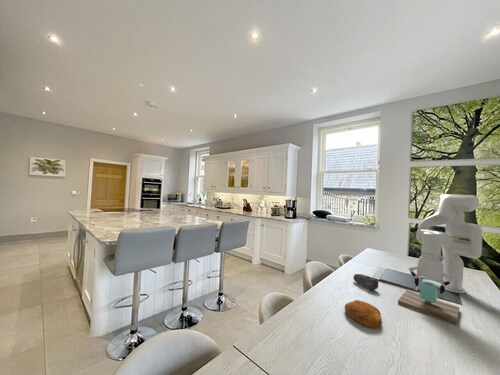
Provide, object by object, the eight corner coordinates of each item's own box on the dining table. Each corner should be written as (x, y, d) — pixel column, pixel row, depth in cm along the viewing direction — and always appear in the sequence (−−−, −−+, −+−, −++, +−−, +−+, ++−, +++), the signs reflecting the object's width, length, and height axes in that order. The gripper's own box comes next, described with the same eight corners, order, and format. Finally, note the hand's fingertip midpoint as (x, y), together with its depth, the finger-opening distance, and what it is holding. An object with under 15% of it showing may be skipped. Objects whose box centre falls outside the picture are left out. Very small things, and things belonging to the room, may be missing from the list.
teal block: (422, 294, 113) (422, 279, 113) (436, 299, 109) (437, 283, 109) (419, 298, 109) (420, 282, 109) (435, 303, 105) (436, 286, 105)
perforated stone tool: (350, 281, 135) (351, 271, 135) (356, 280, 138) (356, 270, 138) (373, 292, 122) (374, 280, 122) (379, 291, 124) (379, 279, 124)
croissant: (368, 337, 87) (372, 320, 86) (338, 311, 101) (340, 296, 100) (389, 327, 93) (393, 311, 92) (358, 304, 107) (361, 290, 106)
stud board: (406, 293, 123) (407, 274, 123) (459, 311, 107) (460, 289, 107) (398, 303, 111) (399, 282, 111) (456, 325, 95) (457, 301, 95)
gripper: (454, 259, 105) (452, 294, 105) (411, 250, 118) (409, 281, 118) (453, 262, 100) (451, 298, 100) (408, 253, 113) (406, 285, 113)
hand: (428, 289), depth 109 cm, fingers open, 9 cm apart
